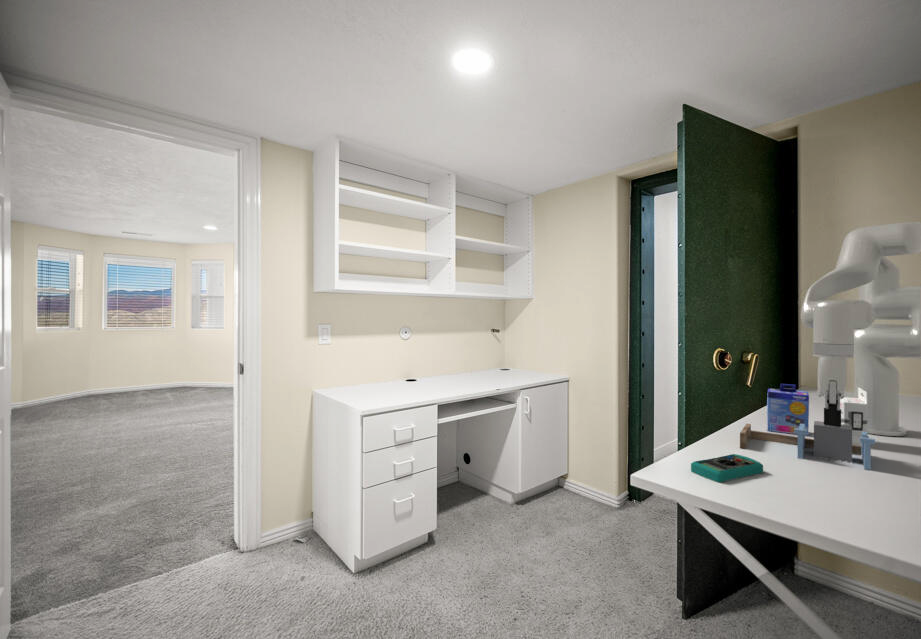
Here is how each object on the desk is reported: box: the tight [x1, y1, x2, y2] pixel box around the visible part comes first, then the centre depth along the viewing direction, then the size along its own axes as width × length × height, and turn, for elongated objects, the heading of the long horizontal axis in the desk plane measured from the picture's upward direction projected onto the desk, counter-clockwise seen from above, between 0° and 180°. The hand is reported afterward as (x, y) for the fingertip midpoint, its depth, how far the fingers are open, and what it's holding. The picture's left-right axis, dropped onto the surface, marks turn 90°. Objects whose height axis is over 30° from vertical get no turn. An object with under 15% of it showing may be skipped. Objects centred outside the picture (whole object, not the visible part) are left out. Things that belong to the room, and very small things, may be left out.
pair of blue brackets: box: [794, 424, 876, 471], centre depth 105 cm, size 12×14×7 cm
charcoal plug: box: [813, 420, 853, 463], centre depth 105 cm, size 4×7×8 cm, turn 49°
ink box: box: [840, 387, 867, 446], centre depth 116 cm, size 8×5×15 cm, turn 149°
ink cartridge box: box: [766, 383, 810, 437], centre depth 127 cm, size 10×6×14 cm, turn 54°
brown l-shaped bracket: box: [739, 423, 861, 456], centre depth 110 cm, size 13×25×4 cm, turn 49°
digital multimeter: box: [690, 453, 764, 483], centre depth 97 cm, size 7×15×3 cm, turn 111°
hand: (832, 425), depth 105 cm, fingers closed
